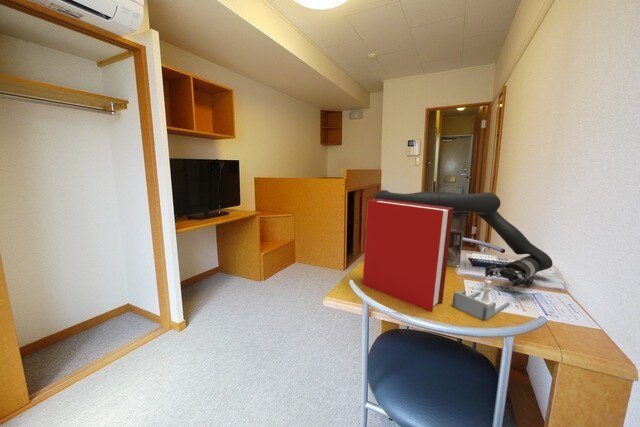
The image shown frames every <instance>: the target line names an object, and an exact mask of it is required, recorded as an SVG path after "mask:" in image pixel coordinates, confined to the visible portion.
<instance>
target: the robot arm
mask: <svg viewBox="0 0 640 427" xmlns="http://www.w3.org/2000/svg"><path fill="white" fill-rule="evenodd" d="M373 199H385V200H393V201H401V202H409V203H417V204H426V205H434V206H442V207H450V208H453V213H455V212H472V213H475V214H476V215H477V216H479V217H480V219H482V220H483V221H485V222H486V223H487V224H488V225H489V226H490V227H491V229H493V230H494V231H495V232H496V233H497V235H498V236H499V237H500V238H501V240H503V241H504V242H505V244H506V245H507V246H508V247H509V248H510V249H511V250H512V251H513V253H514V254H516V255H517V256H519V255H521V256H522V255H527V256H524V257H522V258H520V259H515V260H513V261H511V262H509V263H507V264H505V265H504V266H503V267H497V265H496V264H490V265H488V266H485V270H484V276H485V278H486V277H488V275H490V277H491V278H492V277H496V278H497V279H505V280H506V279H507V280H508V281H510V282H512V287H514V288H517V287H518V288H519V287H520V286H521V287H523V286H525V287H526V288H531V287H532V286H533V285H534V284H535V280H536V277H535V276H534V275H536V274H538V273H539V272H542V271H545V270H549V269H550V268H552V267H553V260H552V258H551V257H550V256H549V254H547V253H546V252H544V251H543V250H541V249H540V248H539V247H537V246H536V245H534V244H533V243H532V242H530V241H529V240H528V238H527V237H526V236H525V235H524V234H523V233H522V231H520V230H519V229H518V228H517V227H516V226H515V225H514V224H512V223H510V222H509V221H508V220H507V219H505V218H504V217H503V216H502V215H501V214H500V213H499V212H498V210H499V209H500V208H501V204H502V202H501V199H500V198H499V197H498V196H497V195H496V194H494V193H492V192H479V193H457V192H446V191H445V192H443V191H419V192H413V193H398V192H390V191H389V190H385V189H382V190H381V189H380V190H378V191H377V192H376V193H375V194H374V196H373Z"/></svg>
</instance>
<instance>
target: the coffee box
mask: <svg viewBox="0 0 640 427" xmlns="http://www.w3.org/2000/svg"><path fill="white" fill-rule="evenodd" d="M463 236H464V230H463V229H462V230H461V229H453V228H451V233H450V242H449V250H448V259H447V266H448V267H454V268H457V267H456V266H457V265H459V263H460V264H461V255H462V246H463ZM459 266H460V265H459Z"/></svg>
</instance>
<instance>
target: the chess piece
mask: <svg viewBox="0 0 640 427" xmlns="http://www.w3.org/2000/svg"><path fill="white" fill-rule="evenodd" d="M491 279H492V277H490V275H488V277H486V276H485V279H484V285H485V286H483V289H484V292H483V295H482V297H481V298H477V299H476V300H478V301H481V302H483V303H486V304H488V305H489V304H490V303H492V302H493V301H491V300H490V298H489V291H490V290H491V289H492V288H491V287H490V286H491V285H492V281H491Z"/></svg>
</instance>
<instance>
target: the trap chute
mask: <svg viewBox="0 0 640 427" xmlns="http://www.w3.org/2000/svg"><path fill="white" fill-rule="evenodd" d="M481 294H482V293H481V291H475V293H472V294H470V295H466V290H462V291H456V290H455V291H453V296H452V297H453V298H452V304H451V306H452V307H453V308H455V309H458V310H460V311H462V312H464V313H466V314H468V315H471V316H473V317H475V318H477V319H479V320H481V321H484V322H485V321H488V320H489V319H491V318H492V317H494V316H495V315H497V314H498V313H500V312H502V311H503V310H505V309H507V308H508V307H510V306H509V305H511V303H510V302H505V303H503V304H502V305H500V306H499V307H497V308H496V305H497V303H496V302H495V301H491V302H492V303H490V304H489V305H488V304H486V303H483V302H481V301H478V300H477V299H476V297H478V296H479V295H481ZM507 306H508V307H507ZM506 307H507V308H506ZM504 308H505V309H504ZM501 310H502V311H501Z"/></svg>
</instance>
